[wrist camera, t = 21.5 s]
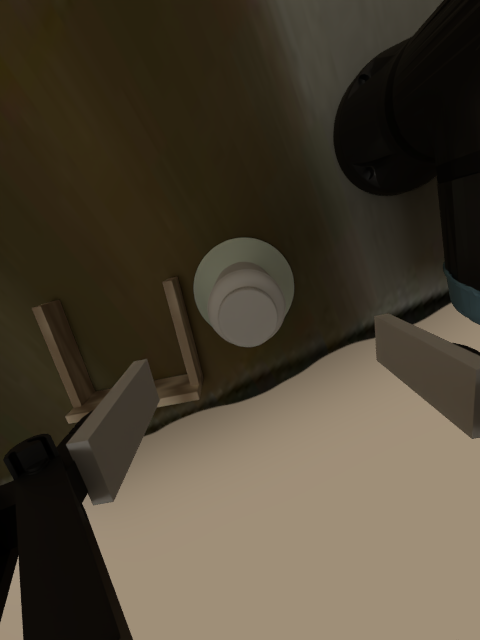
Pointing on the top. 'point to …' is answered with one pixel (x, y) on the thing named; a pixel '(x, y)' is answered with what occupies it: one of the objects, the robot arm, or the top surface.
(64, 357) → the oak stall
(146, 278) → the top surface
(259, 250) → the sage coaster
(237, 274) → the pill bottle
